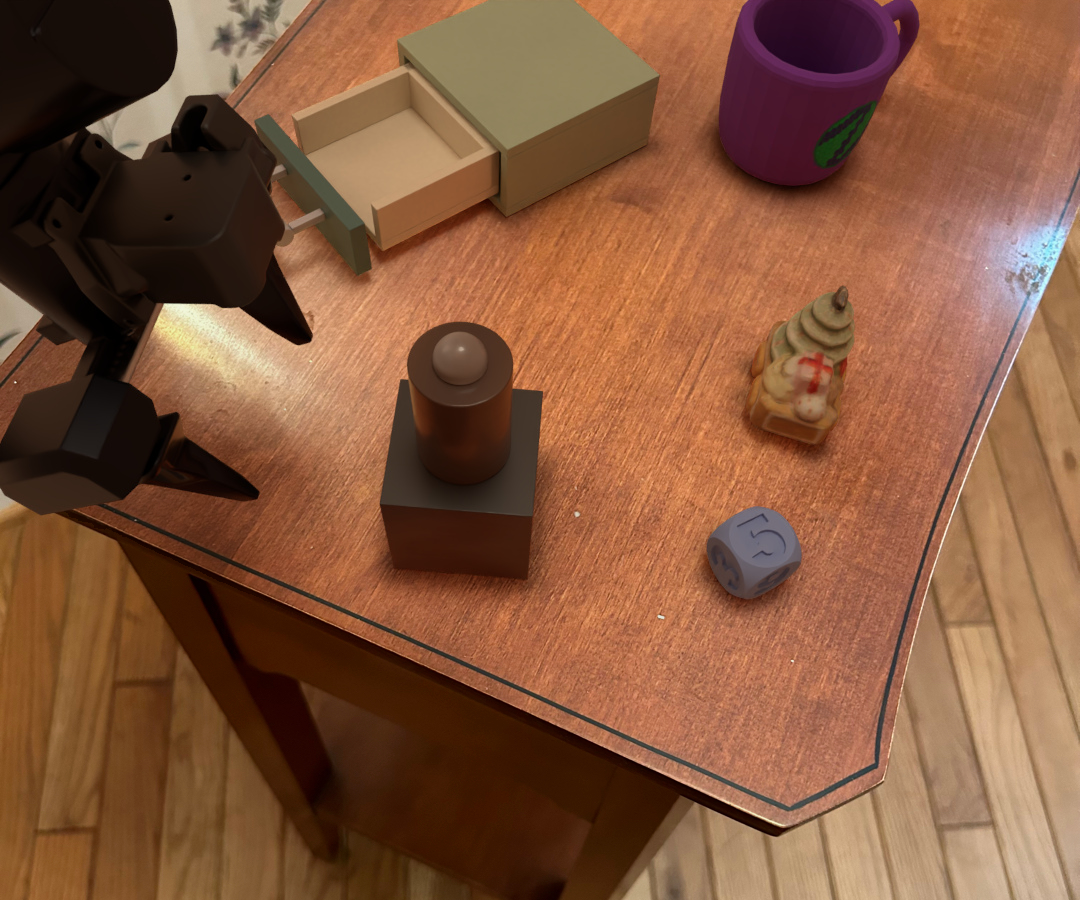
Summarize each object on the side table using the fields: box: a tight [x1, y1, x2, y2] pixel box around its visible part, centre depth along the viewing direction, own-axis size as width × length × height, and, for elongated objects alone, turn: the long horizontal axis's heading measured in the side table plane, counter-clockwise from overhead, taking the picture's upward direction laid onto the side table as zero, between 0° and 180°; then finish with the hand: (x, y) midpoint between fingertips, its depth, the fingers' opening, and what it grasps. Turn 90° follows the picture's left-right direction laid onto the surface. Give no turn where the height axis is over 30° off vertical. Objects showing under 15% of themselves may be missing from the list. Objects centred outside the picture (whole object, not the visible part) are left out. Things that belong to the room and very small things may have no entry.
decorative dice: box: [705, 505, 803, 600], centre depth 55 cm, size 4×4×4 cm
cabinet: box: [396, 0, 661, 218], centre depth 71 cm, size 14×14×6 cm
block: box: [378, 378, 544, 580], centre depth 54 cm, size 8×8×8 cm
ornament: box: [745, 285, 856, 446], centre depth 58 cm, size 8×6×10 cm
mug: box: [718, 0, 921, 187], centre depth 70 cm, size 17×11×10 cm, turn 124°
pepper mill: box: [406, 321, 514, 485], centre depth 47 cm, size 5×5×9 cm
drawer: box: [253, 62, 499, 277], centre depth 66 cm, size 16×12×4 cm
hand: (280, 416), depth 46 cm, fingers open, 9 cm apart
